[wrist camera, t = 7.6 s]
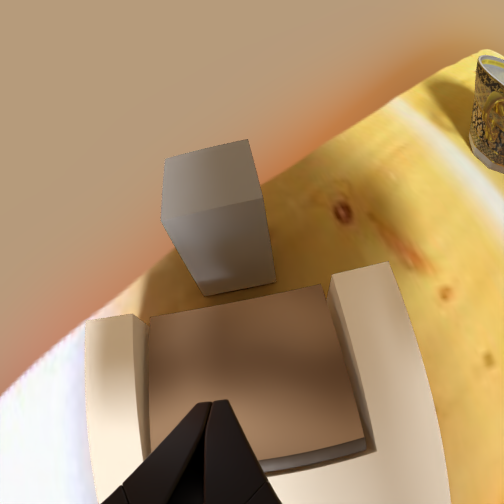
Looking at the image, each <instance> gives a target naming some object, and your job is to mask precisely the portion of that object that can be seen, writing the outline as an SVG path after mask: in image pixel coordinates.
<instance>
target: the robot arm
mask: <svg viewBox="0 0 504 504" xmlns="http://www.w3.org/2000/svg"><path fill="white" fill-rule="evenodd" d="M122 485H123V486H122ZM122 485H120V486H119V487H118V488H117V489H116V490H115V491H114V492H113V493H112V494H111V495H109V496H108V497H107V498H106V499H105V500H104V501H103V502H102V503H101V504H282V502H281V501H280V499H279V498H278V496H277V494H276V493H275V491H274V489H273V487H272V485H271V484H270V482H269V480H268V478H267V476H266V475H265V473H264V471H263V469H262V467H261V465H260V463H259V461H258V459H257V457H256V455H255V454H254V452H253V450H252V448H251V446H250V444H249V442H248V440H247V438H246V436H245V434H244V431H243V429H242V427H241V425H240V423H239V421H238V419H237V417H236V415H235V413H234V411H233V408H232V406H231V404H230V402H229V400H228V399H223V400H216V401H213V402H211V401H207V402H199V403H197V404H195V406H194V407H193V408H192V409H191V410H190V411H189V412H188V413H187V415H186V416H185V417H184V418H183V419H182V420H181V421H180V422H179V423H178V425H177V426H176V427H175V428H174V429H173V430H172V431H171V432H170V433H169V434H168V436H167V437H166V438H165V439H164V440H163V441H162V442H161V443H160V444H159V445H158V446H157V447H156V448H155V450H154V451H153V452H152V453H151V454H150V455H149V456H148V457H147V458H146V459H145V460H144V461H143V462H142V463H141V464H140V465H139V466H138V467H137V468H136V469H135V470H134V472H133V473H132V474H131V475H130V476H129V477H128V478H127V479H126V480H125V481H124V482H123V483H122Z"/></svg>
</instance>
